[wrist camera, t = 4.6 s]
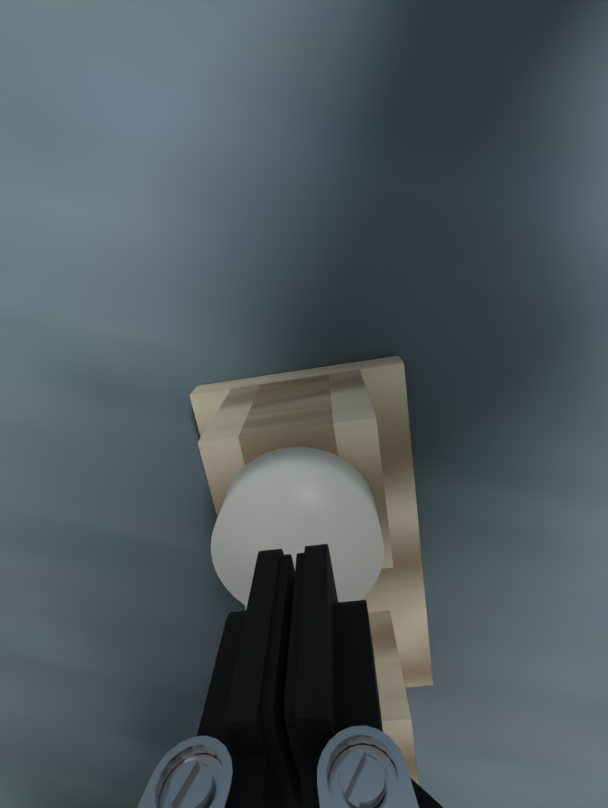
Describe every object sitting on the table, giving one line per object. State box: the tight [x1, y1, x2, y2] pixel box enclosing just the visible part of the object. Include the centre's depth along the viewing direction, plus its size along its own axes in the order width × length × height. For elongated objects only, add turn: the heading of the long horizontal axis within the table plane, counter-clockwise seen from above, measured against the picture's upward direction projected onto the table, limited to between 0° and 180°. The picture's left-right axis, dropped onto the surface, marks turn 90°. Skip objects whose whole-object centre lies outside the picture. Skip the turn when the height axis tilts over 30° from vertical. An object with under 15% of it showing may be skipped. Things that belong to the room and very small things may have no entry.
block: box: [190, 356, 433, 785], centre depth 21 cm, size 20×10×8 cm, turn 9°
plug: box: [211, 447, 384, 606], centre depth 17 cm, size 5×5×8 cm
